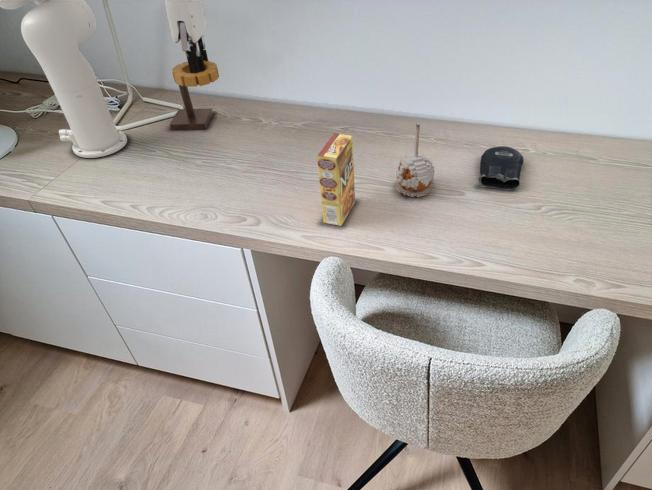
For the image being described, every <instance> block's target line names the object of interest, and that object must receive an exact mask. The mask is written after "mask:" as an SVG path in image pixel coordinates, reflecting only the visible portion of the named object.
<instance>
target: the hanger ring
mask: <svg viewBox="0 0 652 490" xmlns="http://www.w3.org/2000/svg"><path fill="white" fill-rule="evenodd" d="M203 61H204V65H205V71H204V72H200V73H191V72H190V68H189V64H188V61H184V62H181V63H178V64H176V65H174V67H173V68H172V69H171V72H172V73H171V74H172V78H173V81H174V83H175V84H176V85H178V84H179V85H181V86H185V85H186V87H188V88H189V87H192V88H193V87H197V88H198V86H199V87H203V86H206V85H210V84H211V83H215V82H216V81H218V79H219V78H220V73H219V70H218V64H216V62H213V61H210V60H208V61H205V60H203ZM179 85H178V86H179Z"/></svg>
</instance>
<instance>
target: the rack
mask: <svg viewBox="0 0 652 490" xmlns="http://www.w3.org/2000/svg"><path fill="white" fill-rule="evenodd" d="M177 85H178V88H179V92H180V95H181V99H182V103H183V106H184V108H178V110H177V111H176V113H175V115H174V116H173V119H172V120H171V121H170V123H169V126H170V130H171V131H182V130H183V131H187V130H188V131H189V130H207V128H208V125H209V124H210V121H211V119H212V117H213V115H214V112H213V108H194V106H193V103H192V98H191V95H190V91H189V87H186V85H185V86H181V85H179V84H177Z"/></svg>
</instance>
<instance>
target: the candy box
mask: <svg viewBox="0 0 652 490" xmlns="http://www.w3.org/2000/svg"><path fill="white" fill-rule="evenodd" d="M353 137H354V136H353V135H348V134H343V133H333V134H332V135H331V136H330V138H329V139H328V140H327V142H326V143H325V145H323V147H322V148H321V150H320V151H319V152H318V154H316V161H317V173H318V181H319V191H320V201H321V211H322V220H323V223H324V224H329V225H334V226H339V227H341V226H343V224H344V222H345V221H346V219H347V217H348V215H349V214H350V212H351V210H352V209H353V207H354V205H355V204H356V187H355V186H356V185H355V168H354V165H355V164H354V144H353V143H354V140H353Z"/></svg>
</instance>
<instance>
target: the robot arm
mask: <svg viewBox="0 0 652 490" xmlns="http://www.w3.org/2000/svg"><path fill="white" fill-rule="evenodd" d="M32 2H33V3H34V4H36V6H35V7H32V8H31V9H30V10H29V11H28V12H26V13H25V15H24V16H23V18H22V20H21V24H20V33H21V36H22V38H23V41H24V42H25V44H26V46H27V47H28V49H29V50H30V52H31V53H32V54H33V56H34V58H35V59H36V60H37V62H38V64H39V65H40V67H41V69H42V71H43V73H44V75H45V77H46V79H47V81H48V83H49V86H50V87H51V90H52V91H53V93H54V95H55V98H56V100H57V102H58V104H59V107H60V109H61V111H62V113H63V116H64V118H65V120H66V122H67V124H68V126H69V129H68V128H65V129H64V128H63V129H62V128H60V129H59V130H58V135H59V140H60V141H61V142H71V143H72V145H71V149H72V151H73V153H74V155H76V156H78V157H80V158H86V159H95V158H102V157H107V156H110V155H113V154H115V153H117V152H119V151H120V150H122V149H123V148H124V147H125V146H126V145H127V143H128V138H127V135H126V134H125V133H124V132H123V131H122V130H118V129H117V127H116V125H115V122H114V119H113V116H112V114H111V111H110V110H109V106H108V104H107V101H106V99H105V96H104V94H103V91H102V89H101V87H100V84H99V81H98V79H97V76H96V73H95V72H94V69H93V67H92V65H91V64H90V62H89V61H88V59H87V58H86V57H85V56H84V55H83V53H81V51H80V49H79V47H80V46H81V45H82V44H83V43H85V42H86V41H88V40H89V39H90V38H91V37H92V36H93V35H94V34H95V32H96V29H97V19H96V16H95V14H94V12H93V10H92V8H91V7H90V5H89V4H88V2H87V1H85V0H0V8H1V9H3V10H7V11H9V10H12V11H13V10H17V9H20V8H22V7H24V6H26V5H28V4H30V3H32ZM164 6H165V11H166V15H167V21H168V26H169V31H170V34H171V35H170V36H171V40H172V41H173V43H175V44H178V43H179V42H180V44H181V45H180V46H181V50H182V52H184V53H185V57H186V61H187V62H188V64H189V68H190V72H191V73H200V72H204V71H205V65H204V61H203V60H205V61H209V58H208V52H207V49H206V41H205V39H204V34H205V32H206V30H207V20H206V15H205V10H204V5H203V2H202V0H164Z"/></svg>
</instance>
